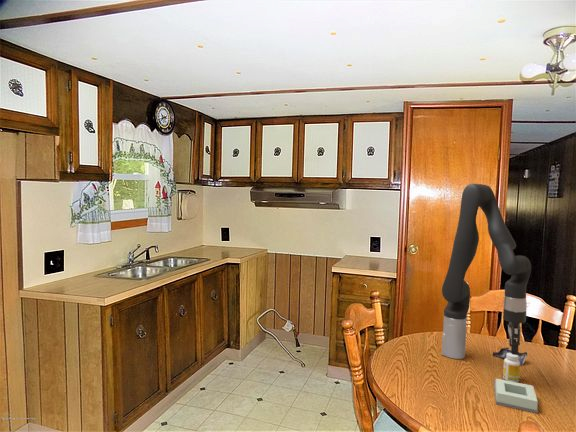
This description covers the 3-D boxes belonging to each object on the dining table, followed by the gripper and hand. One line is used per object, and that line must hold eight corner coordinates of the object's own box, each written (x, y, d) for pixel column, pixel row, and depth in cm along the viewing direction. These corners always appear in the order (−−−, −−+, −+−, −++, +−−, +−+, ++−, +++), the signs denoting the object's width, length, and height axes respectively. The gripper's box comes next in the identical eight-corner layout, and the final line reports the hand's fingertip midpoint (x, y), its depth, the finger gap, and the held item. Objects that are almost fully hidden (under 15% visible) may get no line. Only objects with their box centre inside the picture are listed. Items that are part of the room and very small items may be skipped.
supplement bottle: (499, 377, 150) (501, 353, 150) (508, 374, 153) (510, 350, 152) (513, 383, 146) (514, 358, 145) (522, 380, 148) (523, 356, 147)
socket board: (496, 404, 131) (496, 393, 131) (493, 382, 146) (494, 372, 146) (538, 413, 126) (538, 401, 126) (531, 389, 141) (531, 379, 141)
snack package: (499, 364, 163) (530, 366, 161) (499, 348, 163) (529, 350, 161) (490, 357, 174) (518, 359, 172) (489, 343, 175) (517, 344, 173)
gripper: (502, 302, 156) (501, 342, 156) (504, 312, 143) (503, 355, 143) (524, 304, 152) (522, 345, 153) (528, 314, 140) (527, 359, 140)
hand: (513, 350), depth 148 cm, fingers open, 8 cm apart
